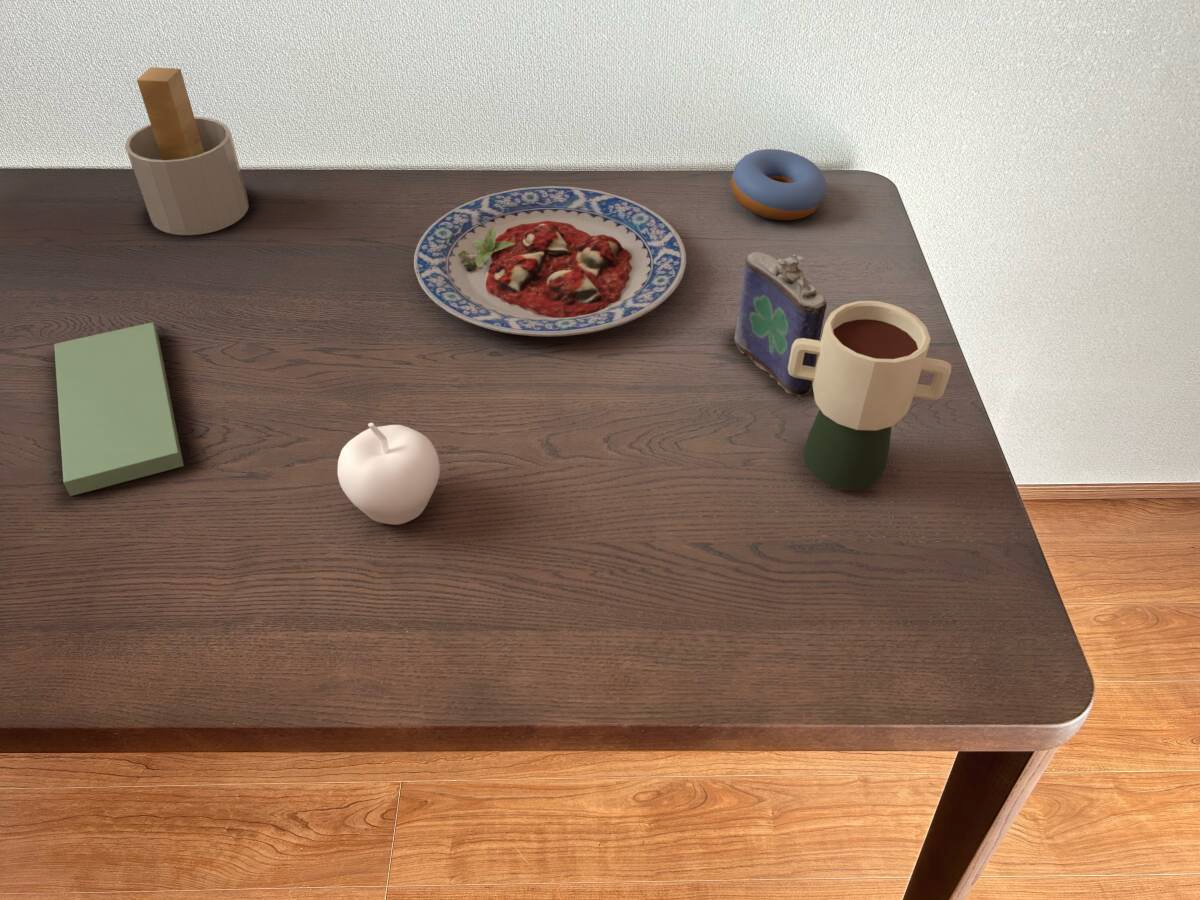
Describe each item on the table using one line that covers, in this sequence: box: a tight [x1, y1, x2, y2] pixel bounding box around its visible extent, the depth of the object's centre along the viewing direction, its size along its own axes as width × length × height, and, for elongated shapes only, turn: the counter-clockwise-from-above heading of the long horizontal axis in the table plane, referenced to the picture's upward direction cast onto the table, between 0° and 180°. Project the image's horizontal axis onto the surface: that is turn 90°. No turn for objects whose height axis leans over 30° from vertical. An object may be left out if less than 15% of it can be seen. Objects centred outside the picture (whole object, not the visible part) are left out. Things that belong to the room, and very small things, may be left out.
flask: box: [734, 251, 828, 398], centre depth 80 cm, size 9×3×11 cm, turn 31°
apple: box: [337, 422, 441, 526], centre depth 68 cm, size 7×7×8 cm
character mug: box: [788, 300, 952, 491], centre depth 70 cm, size 11×7×13 cm, turn 76°
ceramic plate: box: [413, 185, 687, 337], centre depth 93 cm, size 26×26×3 cm
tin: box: [124, 116, 250, 236], centre depth 98 cm, size 10×10×8 cm
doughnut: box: [730, 148, 827, 222], centre depth 102 cm, size 10×10×5 cm
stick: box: [136, 66, 204, 160], centre depth 96 cm, size 3×3×14 cm
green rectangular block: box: [53, 321, 184, 497], centre depth 78 cm, size 18×8×2 cm, turn 24°
